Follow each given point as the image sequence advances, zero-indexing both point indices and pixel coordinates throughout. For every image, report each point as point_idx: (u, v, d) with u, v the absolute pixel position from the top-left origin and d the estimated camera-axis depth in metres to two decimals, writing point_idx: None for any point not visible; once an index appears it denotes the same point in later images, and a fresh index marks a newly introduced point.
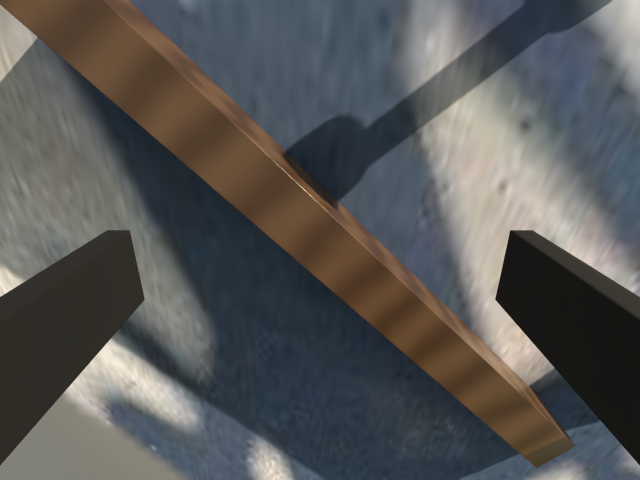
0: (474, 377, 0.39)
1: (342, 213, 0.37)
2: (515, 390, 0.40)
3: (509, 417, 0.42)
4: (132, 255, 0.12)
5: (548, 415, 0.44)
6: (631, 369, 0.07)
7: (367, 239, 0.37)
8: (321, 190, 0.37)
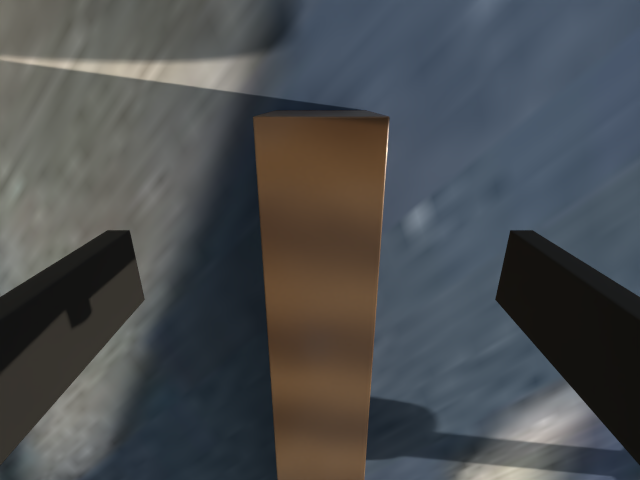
0: None
1: None
2: None
3: None
4: (132, 255, 0.12)
5: None
6: (631, 369, 0.07)
7: None
8: None
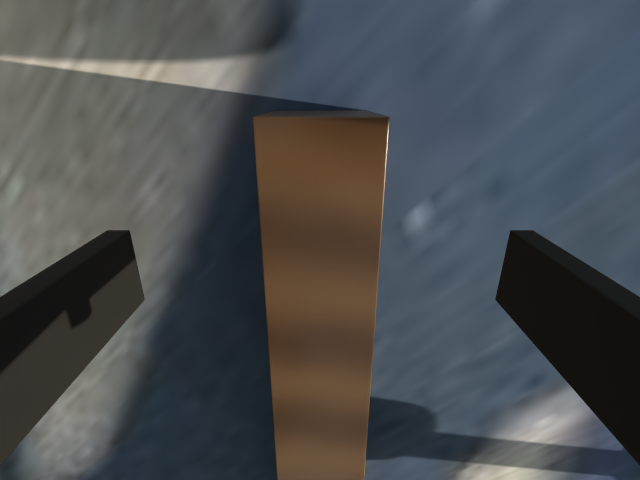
0: None
1: None
2: None
3: None
4: (132, 255, 0.12)
5: None
6: (631, 369, 0.07)
7: None
8: None
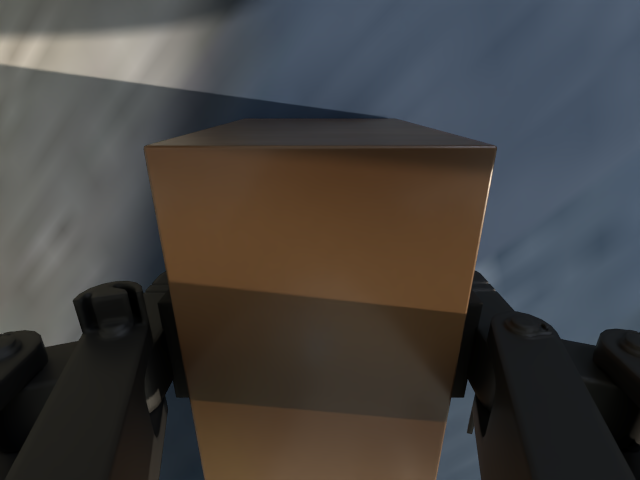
0: None
1: None
2: None
3: None
4: None
5: None
6: None
7: None
8: None
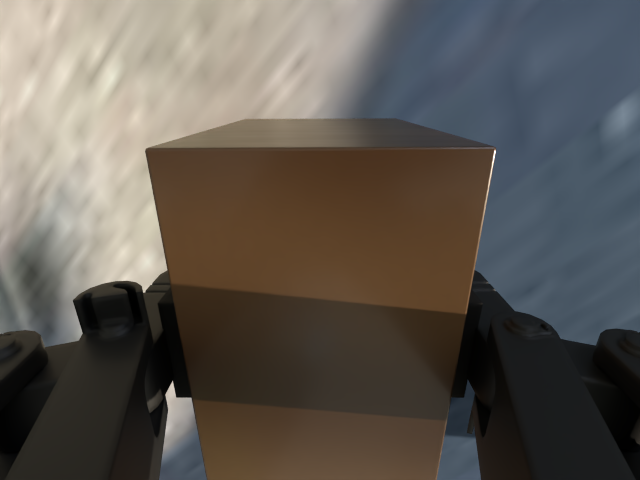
0: None
1: None
2: None
3: None
4: None
5: None
6: None
7: None
8: None
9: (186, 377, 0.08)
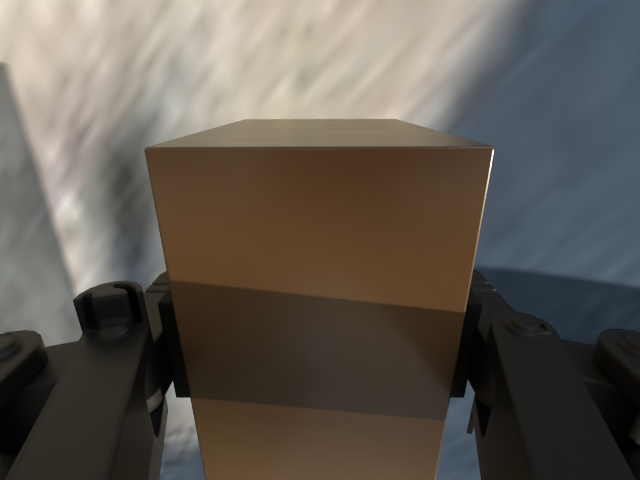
0: None
1: None
2: None
3: None
4: None
5: None
6: None
7: None
8: None
9: (186, 377, 0.08)
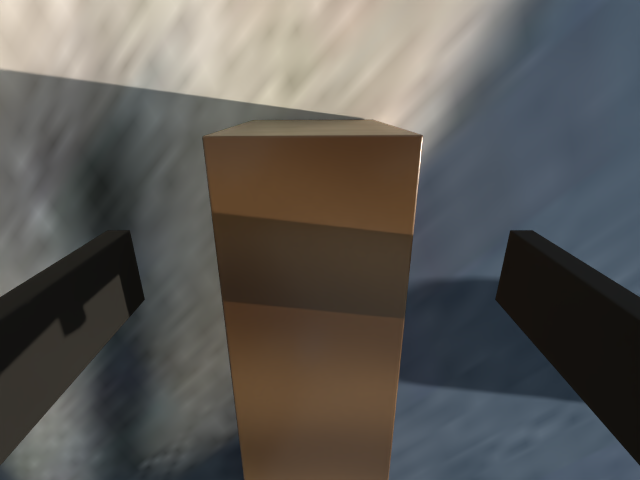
0: None
1: None
2: None
3: None
4: (132, 255, 0.12)
5: None
6: (631, 369, 0.07)
7: None
8: None
9: None
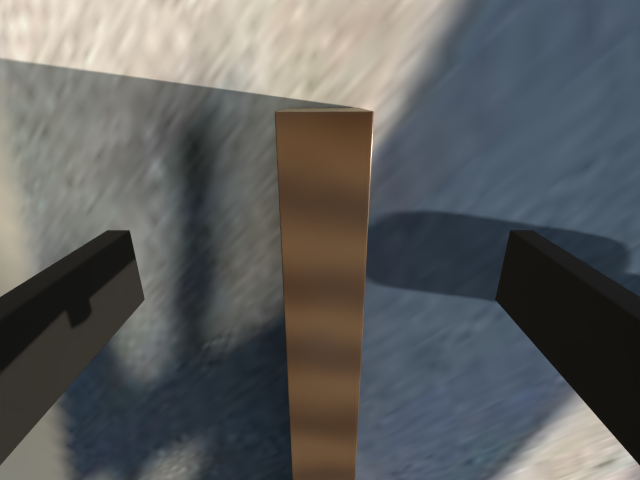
0: None
1: None
2: None
3: None
4: (132, 255, 0.12)
5: None
6: (631, 369, 0.07)
7: None
8: None
9: None
